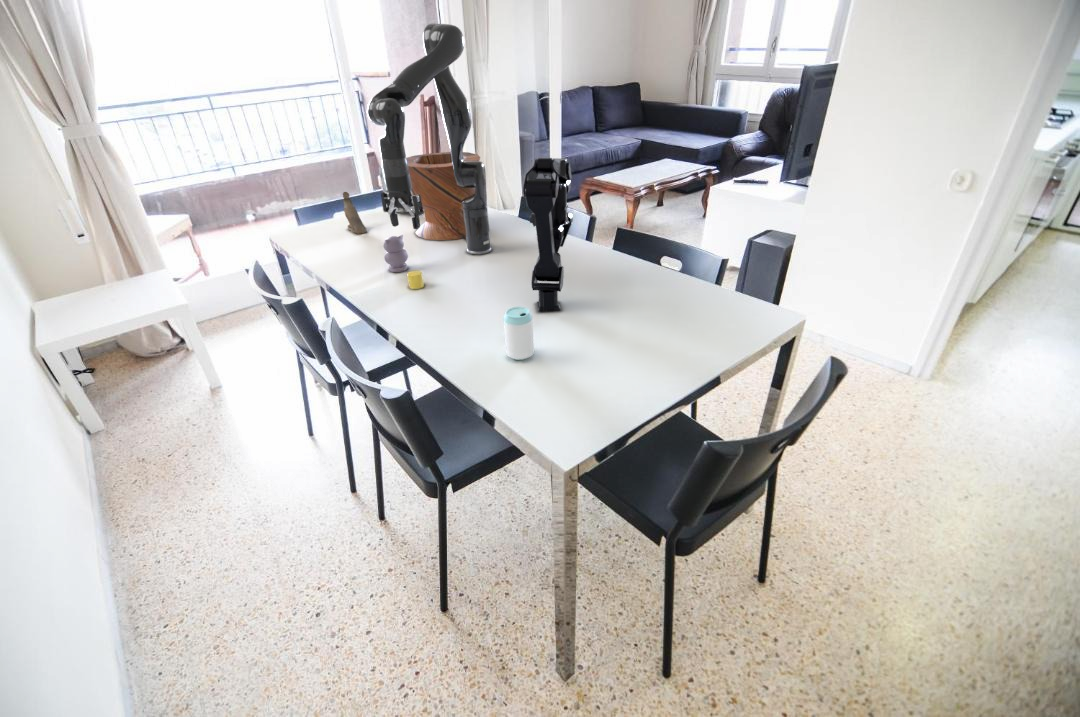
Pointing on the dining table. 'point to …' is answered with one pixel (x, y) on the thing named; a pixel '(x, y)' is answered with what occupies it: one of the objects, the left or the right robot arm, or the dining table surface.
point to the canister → (415, 279)
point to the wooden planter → (439, 194)
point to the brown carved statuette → (352, 216)
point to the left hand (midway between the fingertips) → (406, 227)
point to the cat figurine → (395, 253)
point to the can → (519, 333)
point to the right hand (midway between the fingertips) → (558, 251)
